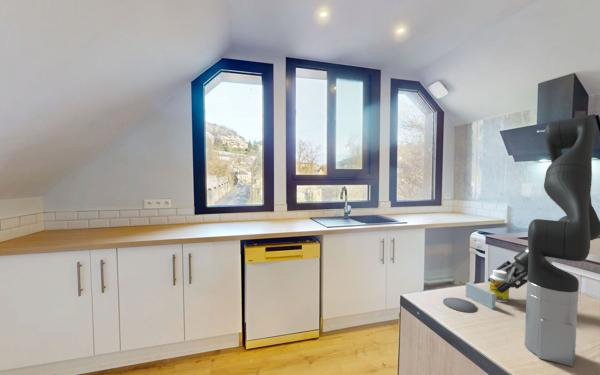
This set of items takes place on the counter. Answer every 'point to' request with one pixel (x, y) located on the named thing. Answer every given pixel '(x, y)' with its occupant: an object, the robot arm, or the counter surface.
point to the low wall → (481, 295)
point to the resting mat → (460, 304)
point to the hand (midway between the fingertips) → (494, 286)
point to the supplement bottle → (495, 281)
